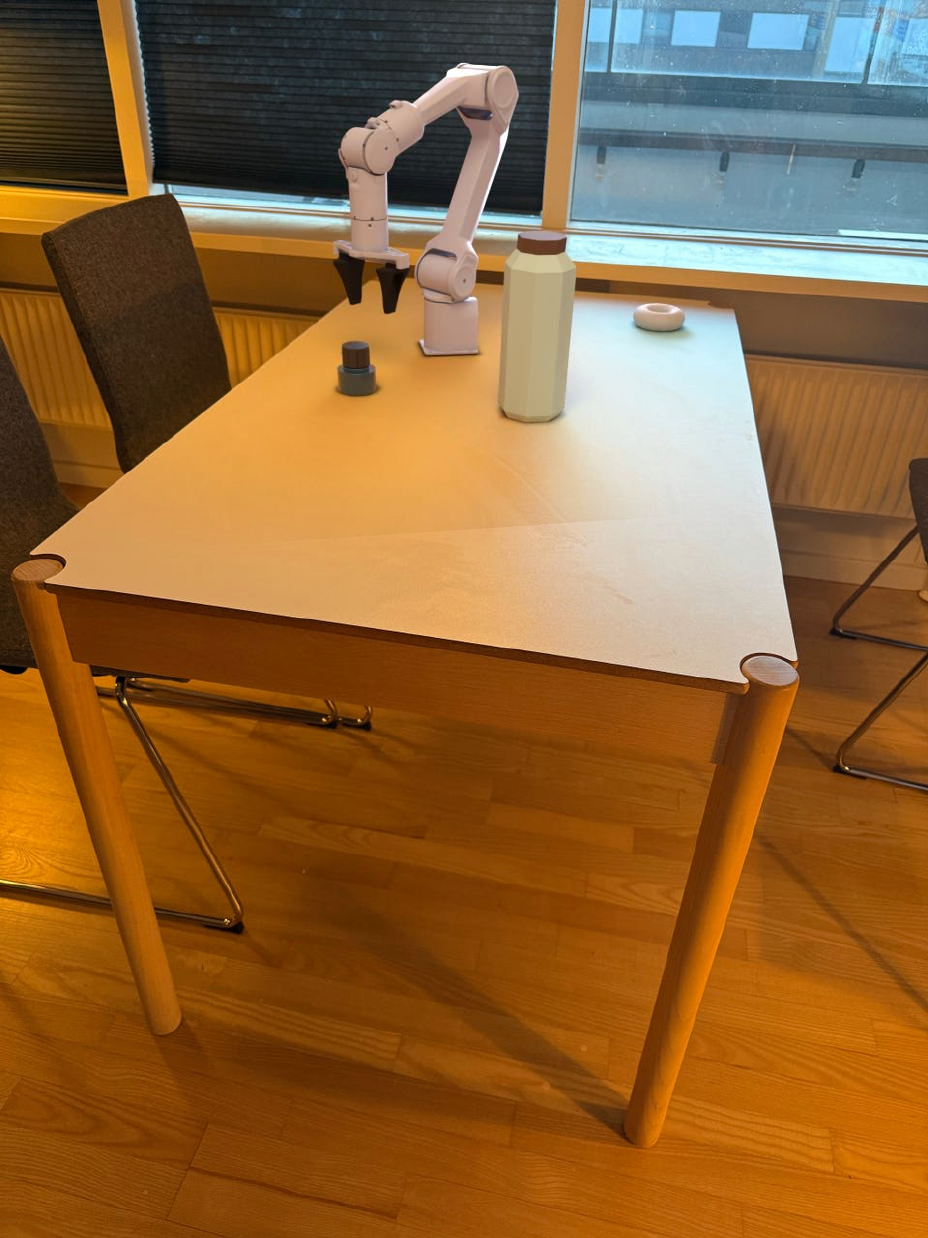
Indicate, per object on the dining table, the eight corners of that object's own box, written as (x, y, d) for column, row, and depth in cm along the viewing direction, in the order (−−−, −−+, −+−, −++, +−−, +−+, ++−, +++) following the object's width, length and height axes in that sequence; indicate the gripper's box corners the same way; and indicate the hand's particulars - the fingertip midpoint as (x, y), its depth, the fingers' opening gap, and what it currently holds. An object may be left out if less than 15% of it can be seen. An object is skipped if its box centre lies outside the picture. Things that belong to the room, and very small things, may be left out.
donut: (663, 317, 180) (621, 321, 176) (666, 299, 178) (624, 303, 174) (693, 330, 172) (651, 335, 168) (697, 312, 170) (654, 316, 166)
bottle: (374, 381, 143) (373, 341, 140) (378, 395, 139) (377, 353, 135) (337, 383, 143) (334, 342, 139) (339, 396, 138) (337, 354, 134)
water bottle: (559, 428, 129) (575, 245, 115) (492, 421, 131) (499, 240, 117) (566, 403, 137) (582, 230, 123) (503, 397, 139) (511, 225, 125)
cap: (368, 358, 140) (367, 340, 139) (371, 367, 137) (370, 348, 135) (341, 359, 140) (340, 341, 138) (343, 368, 136) (342, 349, 134)
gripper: (316, 214, 137) (323, 304, 145) (386, 227, 130) (388, 322, 137) (349, 208, 142) (353, 296, 149) (418, 220, 134) (418, 312, 142)
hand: (372, 308), depth 144 cm, fingers open, 7 cm apart
